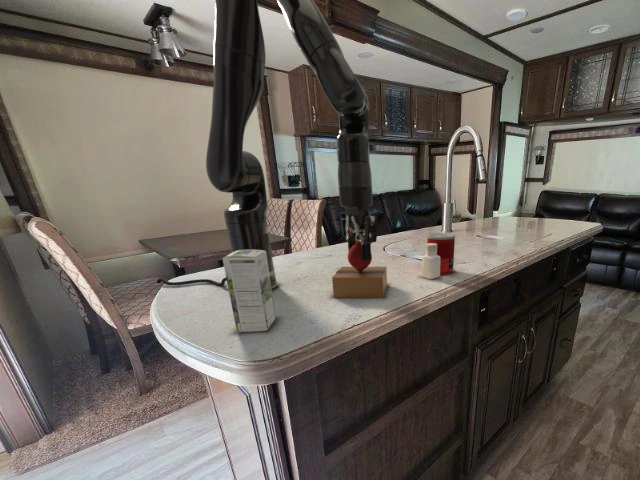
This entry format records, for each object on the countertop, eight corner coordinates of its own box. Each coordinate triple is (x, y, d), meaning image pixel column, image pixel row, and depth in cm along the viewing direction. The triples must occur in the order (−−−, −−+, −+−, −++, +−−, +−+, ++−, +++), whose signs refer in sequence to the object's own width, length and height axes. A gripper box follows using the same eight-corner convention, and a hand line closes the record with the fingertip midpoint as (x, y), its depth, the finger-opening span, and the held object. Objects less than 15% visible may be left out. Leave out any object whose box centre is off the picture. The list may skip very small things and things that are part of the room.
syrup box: (247, 320, 64) (233, 249, 59) (277, 319, 65) (266, 248, 59) (236, 333, 59) (219, 256, 54) (269, 331, 59) (255, 255, 54)
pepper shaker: (420, 277, 91) (421, 244, 87) (430, 274, 93) (431, 242, 90) (430, 280, 88) (431, 246, 85) (440, 277, 90) (441, 244, 87)
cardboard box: (333, 297, 76) (331, 277, 74) (342, 284, 85) (341, 266, 84) (383, 297, 75) (382, 277, 74) (387, 284, 85) (386, 266, 83)
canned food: (454, 274, 92) (456, 237, 88) (427, 275, 93) (428, 237, 89) (451, 268, 100) (452, 232, 96) (426, 268, 100) (426, 233, 96)
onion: (374, 268, 81) (372, 237, 78) (369, 275, 76) (368, 241, 73) (351, 268, 82) (349, 237, 79) (346, 274, 76) (343, 241, 73)
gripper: (326, 184, 75) (332, 255, 81) (356, 184, 64) (361, 265, 70) (354, 184, 79) (358, 250, 85) (387, 184, 68) (389, 260, 74)
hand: (359, 257), depth 77 cm, fingers closed on onion, 6 cm apart
